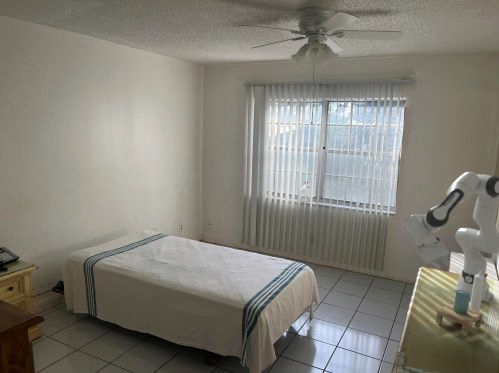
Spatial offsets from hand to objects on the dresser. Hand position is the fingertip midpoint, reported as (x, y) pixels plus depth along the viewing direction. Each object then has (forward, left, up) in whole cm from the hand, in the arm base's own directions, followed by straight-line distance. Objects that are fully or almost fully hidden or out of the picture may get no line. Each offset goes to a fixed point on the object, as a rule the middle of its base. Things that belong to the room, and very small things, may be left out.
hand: (443, 267), depth 192 cm
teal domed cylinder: (+1, +11, -19) cm, 22 cm away
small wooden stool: (+1, +11, -26) cm, 28 cm away
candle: (-16, +11, -26) cm, 33 cm away
